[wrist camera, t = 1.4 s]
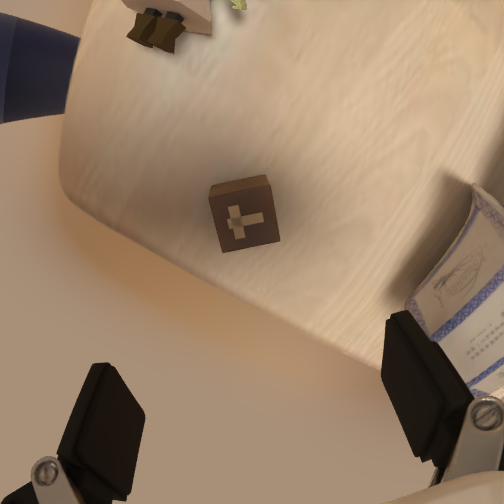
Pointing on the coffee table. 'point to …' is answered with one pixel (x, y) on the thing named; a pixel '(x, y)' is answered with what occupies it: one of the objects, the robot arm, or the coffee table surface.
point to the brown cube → (244, 213)
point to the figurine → (170, 20)
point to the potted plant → (469, 298)
